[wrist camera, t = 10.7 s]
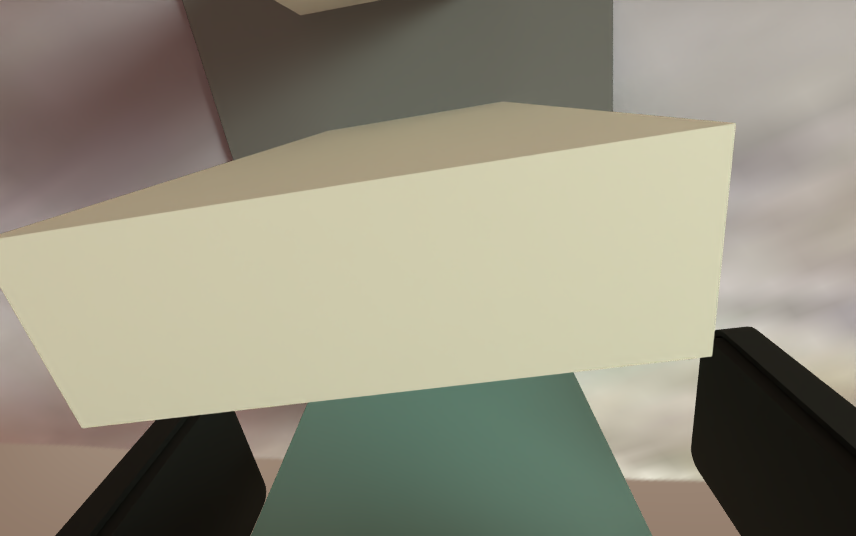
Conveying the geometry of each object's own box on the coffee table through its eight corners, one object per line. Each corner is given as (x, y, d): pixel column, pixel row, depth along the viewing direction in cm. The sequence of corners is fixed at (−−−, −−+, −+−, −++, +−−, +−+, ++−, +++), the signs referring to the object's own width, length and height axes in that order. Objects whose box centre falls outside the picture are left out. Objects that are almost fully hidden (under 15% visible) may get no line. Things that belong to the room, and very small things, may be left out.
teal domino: (361, 276, 15) (206, 641, 5) (516, 255, 15) (687, 607, 5) (372, 320, 16) (252, 722, 6) (520, 301, 15) (678, 699, 5)
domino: (327, 131, 13) (-27, 242, 3) (503, 101, 13) (734, 123, 3) (340, 187, 14) (81, 428, 4) (508, 161, 14) (712, 356, 3)
